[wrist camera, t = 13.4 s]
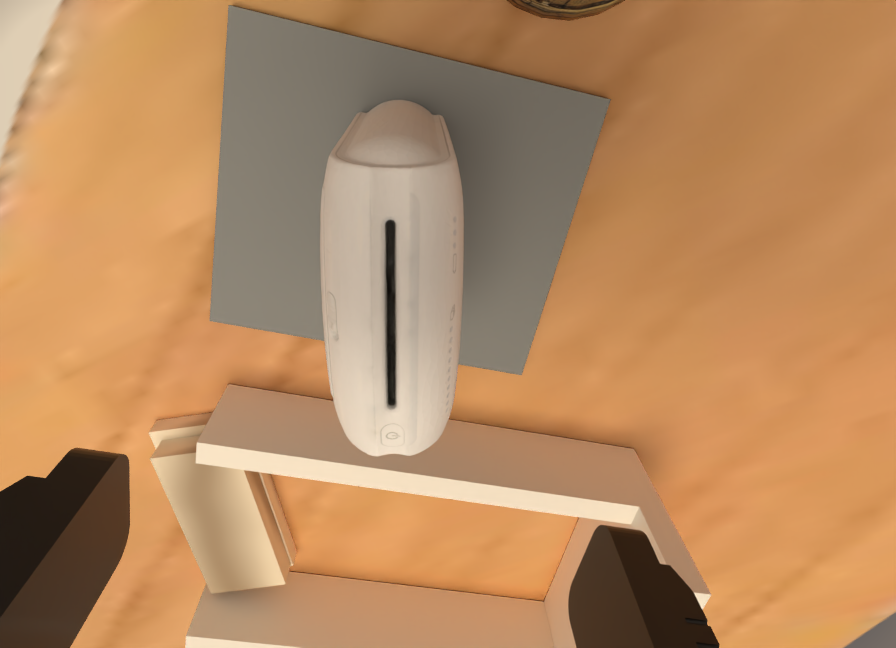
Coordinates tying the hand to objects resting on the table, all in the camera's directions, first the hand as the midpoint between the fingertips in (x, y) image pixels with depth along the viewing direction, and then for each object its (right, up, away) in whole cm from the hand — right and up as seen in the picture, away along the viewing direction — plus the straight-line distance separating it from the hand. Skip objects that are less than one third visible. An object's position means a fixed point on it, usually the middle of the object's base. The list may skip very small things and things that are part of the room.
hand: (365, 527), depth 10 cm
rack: (0, -8, +26) cm, 27 cm away
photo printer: (-1, +8, +17) cm, 19 cm away
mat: (-1, +9, +17) cm, 19 cm away
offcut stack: (-11, -6, +24) cm, 28 cm away
